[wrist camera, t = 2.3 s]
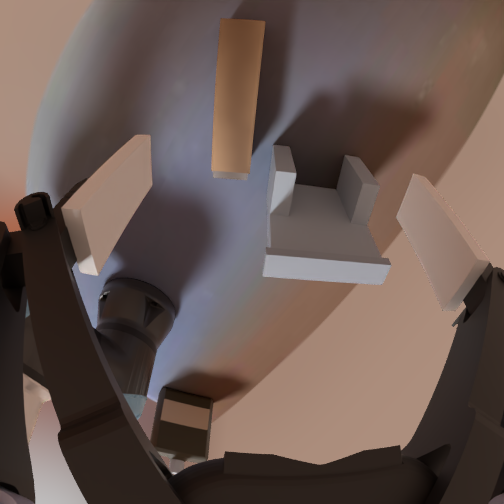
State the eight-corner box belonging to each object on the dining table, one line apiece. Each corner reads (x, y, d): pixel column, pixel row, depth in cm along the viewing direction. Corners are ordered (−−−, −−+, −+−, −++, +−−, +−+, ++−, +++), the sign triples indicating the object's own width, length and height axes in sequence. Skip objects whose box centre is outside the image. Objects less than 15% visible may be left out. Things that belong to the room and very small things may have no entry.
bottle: (207, 406, 85) (200, 479, 66) (158, 394, 82) (145, 468, 62) (215, 398, 81) (208, 477, 61) (162, 385, 77) (147, 465, 58)
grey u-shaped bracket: (262, 196, 39) (262, 276, 28) (268, 144, 35) (273, 207, 23) (349, 206, 40) (381, 284, 28) (362, 158, 35) (409, 224, 23)
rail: (218, 157, 36) (211, 177, 31) (227, 23, 25) (220, 18, 21) (250, 159, 36) (248, 180, 31) (264, 25, 25) (265, 21, 21)
